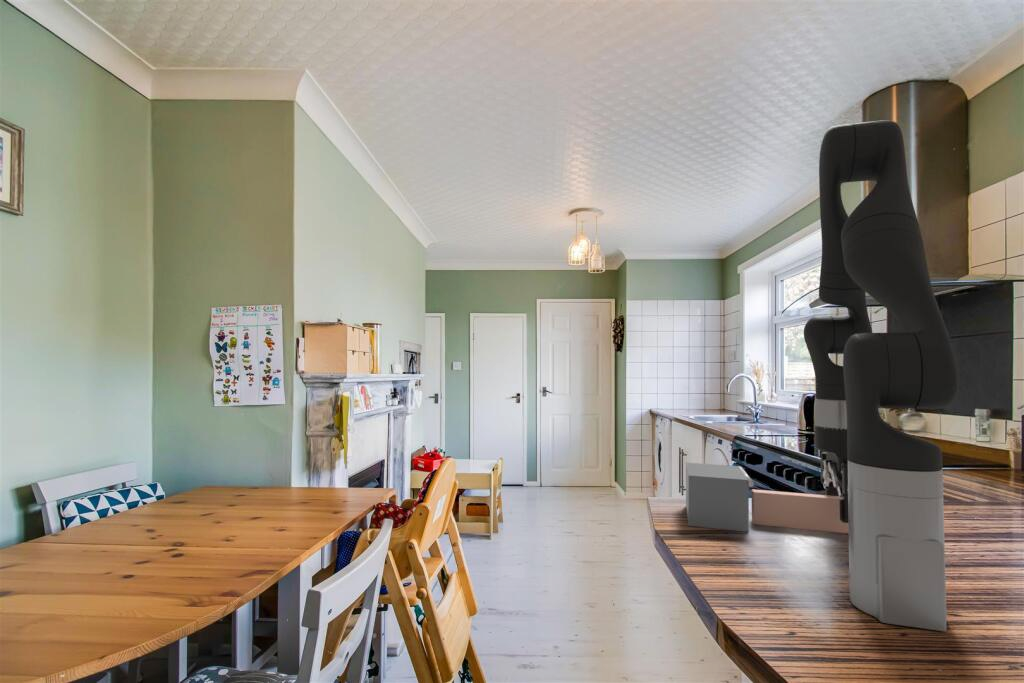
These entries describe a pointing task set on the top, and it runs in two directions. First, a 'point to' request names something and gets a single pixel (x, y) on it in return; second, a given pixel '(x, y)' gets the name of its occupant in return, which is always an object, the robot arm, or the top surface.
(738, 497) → the grey bevelled box
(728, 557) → the top surface
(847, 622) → the top surface
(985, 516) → the top surface
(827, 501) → the tan rectangular block
